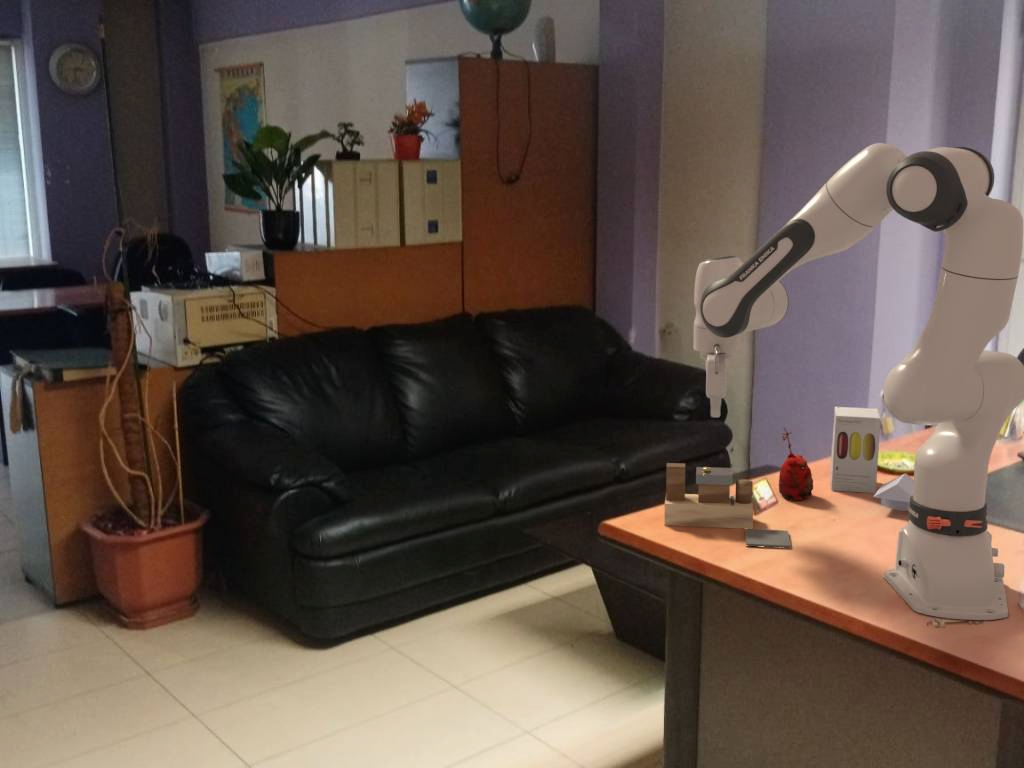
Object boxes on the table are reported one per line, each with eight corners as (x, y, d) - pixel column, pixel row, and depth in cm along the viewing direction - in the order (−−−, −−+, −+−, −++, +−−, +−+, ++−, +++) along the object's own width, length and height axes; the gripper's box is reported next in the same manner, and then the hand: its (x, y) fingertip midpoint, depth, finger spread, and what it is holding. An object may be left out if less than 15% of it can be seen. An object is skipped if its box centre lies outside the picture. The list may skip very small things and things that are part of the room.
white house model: (919, 519, 202) (930, 501, 213) (921, 487, 201) (932, 470, 212) (871, 512, 207) (885, 494, 218) (873, 481, 205) (887, 464, 216)
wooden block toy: (752, 528, 199) (754, 472, 197) (664, 525, 202) (664, 469, 200) (751, 517, 205) (752, 462, 203) (665, 514, 209) (666, 460, 206)
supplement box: (830, 491, 221) (833, 415, 217) (829, 478, 230) (832, 405, 226) (877, 493, 218) (881, 417, 215) (874, 481, 227) (878, 407, 224)
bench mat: (790, 548, 189) (790, 545, 188) (746, 546, 190) (746, 543, 190) (787, 533, 196) (787, 530, 196) (745, 531, 198) (745, 528, 198)
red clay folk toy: (806, 504, 213) (808, 434, 210) (772, 499, 216) (774, 430, 213) (816, 494, 219) (819, 426, 216) (783, 489, 223) (786, 422, 220)
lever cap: (732, 485, 199) (732, 472, 198) (695, 484, 200) (696, 471, 200) (732, 477, 204) (732, 465, 203) (696, 476, 205) (696, 464, 204)
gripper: (734, 350, 186) (732, 424, 188) (732, 332, 205) (731, 399, 208) (699, 350, 187) (698, 423, 190) (700, 331, 206) (699, 398, 209)
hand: (715, 410), depth 199 cm, fingers open, 8 cm apart
